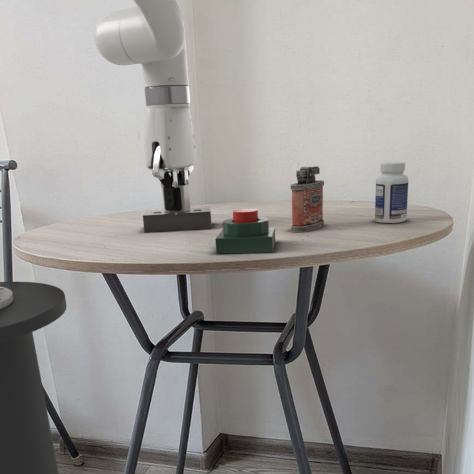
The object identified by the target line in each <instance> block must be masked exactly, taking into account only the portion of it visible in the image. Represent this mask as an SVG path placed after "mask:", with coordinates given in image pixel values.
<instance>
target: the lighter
mask: <svg viewBox="0 0 474 474" xmlns="http://www.w3.org/2000/svg"><path fill="white" fill-rule="evenodd" d="M320 174H321V173H320V167H319V166H317V165H316V166H315V165H314V166H301V167H300V169H298V170H296V171H295V177H296V180H297V182H296V183H291V184H290V190H291V221H292V223H291V225H290V230H291V232H293V233H305V232H308V231H313V230H317V229H319V228H323V227H324V225H325V219H324V218H323V217H324V193H323V191H324V186H325V181H324V180H321V179H319V180H316V176H317V175H320Z"/></svg>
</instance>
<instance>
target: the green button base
mask: <svg viewBox="0 0 474 474" xmlns="http://www.w3.org/2000/svg"><path fill="white" fill-rule="evenodd" d="M269 223H270V221H269V217H268V218H267V217H264V216H263V217H262V216H258V221H256V222H246V223H237V222H233V217H232V218H228V219H224V220H223V222H222V230H220V232H219V233H218V235H217V236H216V238H215V253H216V255H225V254H227V255H228V254H232V255H233V254H259V253H260V254H261V253H265V254H266V253H267V254H268V253H273V252H274V248H275V244H276V227H270V226H269Z"/></svg>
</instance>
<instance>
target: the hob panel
mask: <svg viewBox="0 0 474 474" xmlns="http://www.w3.org/2000/svg"><path fill="white" fill-rule="evenodd" d="M211 209H212V208H211V207H195V208H191V207H190V211H187V212H165V211H164V209H158V210H157V209H156V210H146V211H145V212H144V213H143V214H142V223H143V232H144V233H159V232H160V233H162V232H177V231H192V230H193V231H194V230H196V231H197V230H210V229H212V212H211V211H212V210H211Z"/></svg>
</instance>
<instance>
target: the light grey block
mask: <svg viewBox="0 0 474 474" xmlns="http://www.w3.org/2000/svg"><path fill="white" fill-rule="evenodd" d="M177 187H180V192H181V204H182V210H180V211H166V209H165V201H164V190H163V188H162V187H161V189H162V201H163V210H164V211H165V212H187V211H190V209H191V200H190V199H191V198H190V189H189V184H188V185H178V186H177Z"/></svg>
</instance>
